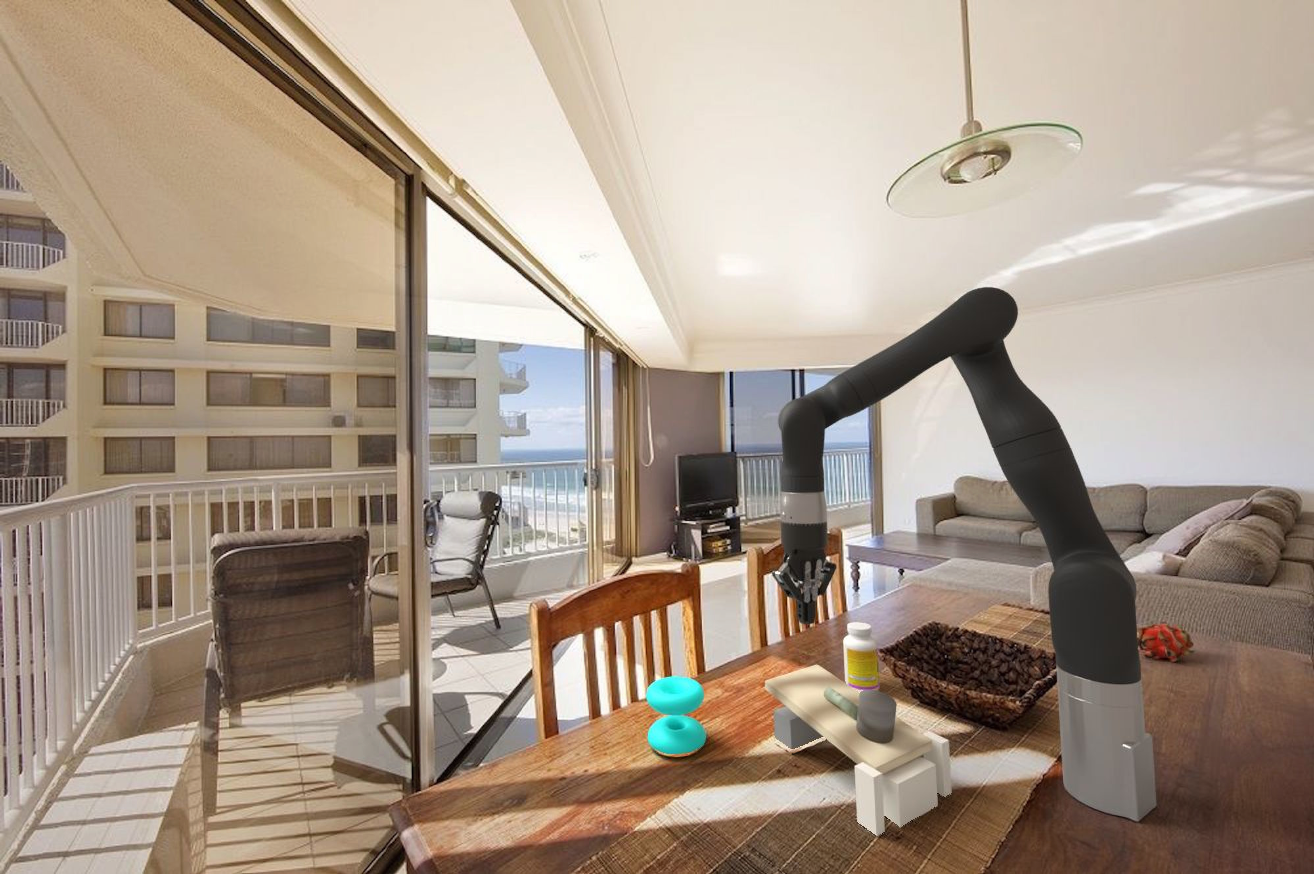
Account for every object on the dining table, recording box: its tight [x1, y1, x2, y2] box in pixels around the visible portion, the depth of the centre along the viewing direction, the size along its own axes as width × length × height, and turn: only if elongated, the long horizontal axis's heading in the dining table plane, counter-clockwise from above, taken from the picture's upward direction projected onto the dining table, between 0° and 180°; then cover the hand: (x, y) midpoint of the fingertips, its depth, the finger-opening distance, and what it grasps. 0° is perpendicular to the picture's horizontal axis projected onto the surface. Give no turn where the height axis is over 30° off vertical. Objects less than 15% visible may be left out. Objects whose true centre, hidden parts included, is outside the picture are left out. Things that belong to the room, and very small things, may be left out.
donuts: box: [645, 676, 707, 754], centre depth 91 cm, size 10×10×10 cm
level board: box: [764, 664, 932, 774], centre depth 82 cm, size 22×12×6 cm, turn 29°
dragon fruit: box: [1137, 621, 1195, 663], centre depth 119 cm, size 8×8×12 cm
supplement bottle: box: [842, 621, 880, 690], centre depth 110 cm, size 7×7×13 cm
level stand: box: [773, 705, 953, 837], centre depth 82 cm, size 24×16×8 cm, turn 29°
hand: (806, 622), depth 88 cm, fingers closed
